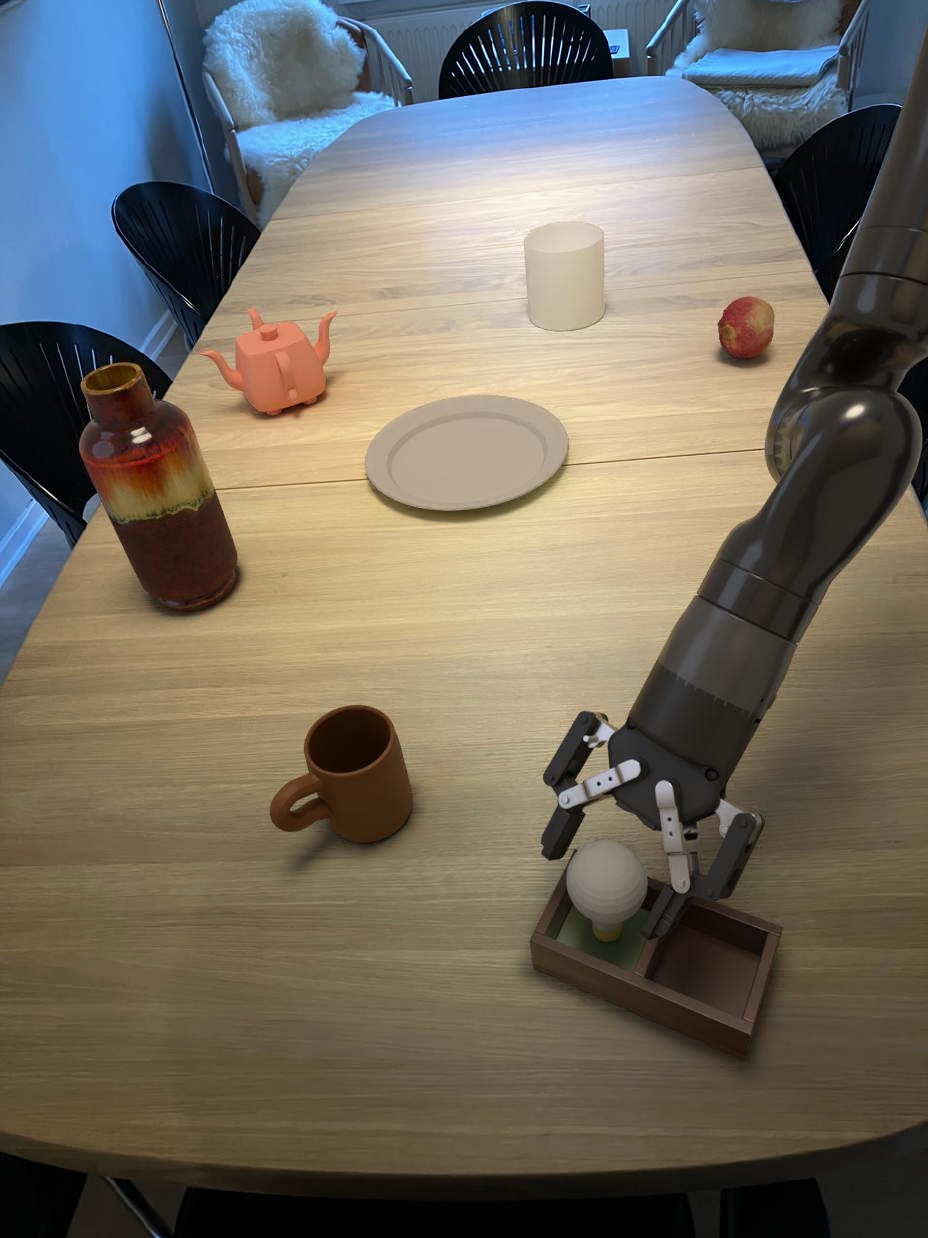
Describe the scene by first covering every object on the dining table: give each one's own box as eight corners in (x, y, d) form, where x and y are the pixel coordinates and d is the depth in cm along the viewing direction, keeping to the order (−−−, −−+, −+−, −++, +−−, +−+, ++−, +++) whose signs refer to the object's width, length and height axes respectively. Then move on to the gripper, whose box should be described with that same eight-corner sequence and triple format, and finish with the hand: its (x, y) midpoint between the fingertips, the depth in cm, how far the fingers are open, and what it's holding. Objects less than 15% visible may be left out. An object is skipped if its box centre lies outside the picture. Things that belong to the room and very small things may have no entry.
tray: (576, 877, 72) (574, 848, 69) (776, 955, 66) (783, 926, 63) (532, 968, 67) (529, 940, 64) (744, 1061, 61) (750, 1035, 58)
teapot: (219, 419, 131) (195, 348, 124) (268, 370, 141) (248, 301, 133) (308, 429, 126) (289, 355, 119) (353, 377, 136) (337, 306, 128)
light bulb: (652, 963, 66) (656, 890, 59) (576, 973, 66) (572, 901, 59) (636, 895, 70) (638, 818, 63) (564, 904, 70) (559, 829, 63)
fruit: (762, 373, 124) (769, 317, 118) (706, 365, 127) (710, 309, 121) (779, 347, 128) (786, 291, 123) (725, 339, 131) (729, 285, 126)
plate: (433, 394, 129) (431, 381, 128) (602, 427, 118) (602, 413, 117) (327, 495, 114) (324, 481, 113) (509, 543, 103) (508, 529, 102)
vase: (264, 579, 104) (191, 368, 86) (181, 633, 99) (86, 420, 81) (210, 542, 110) (132, 338, 92) (130, 591, 105) (30, 385, 87)
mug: (322, 899, 73) (293, 832, 67) (268, 844, 78) (236, 776, 71) (432, 805, 79) (416, 735, 72) (376, 758, 83) (356, 688, 77)
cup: (513, 318, 144) (507, 241, 136) (564, 290, 149) (561, 214, 141) (568, 338, 137) (565, 258, 129) (620, 309, 142) (620, 230, 134)
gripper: (598, 625, 60) (491, 837, 63) (794, 736, 52) (662, 975, 55) (647, 639, 66) (548, 832, 69) (830, 740, 58) (709, 955, 61)
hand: (598, 895), depth 62 cm, fingers open, 8 cm apart
